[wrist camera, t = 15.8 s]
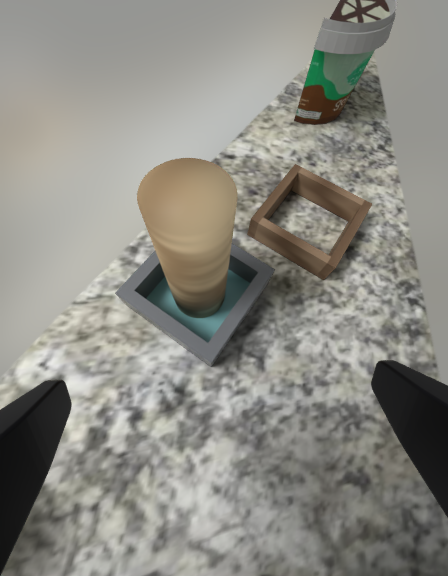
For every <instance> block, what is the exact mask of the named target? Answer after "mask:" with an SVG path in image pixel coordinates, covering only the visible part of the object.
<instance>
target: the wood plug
mask: <svg viewBox="0 0 448 576" xmlns="http://www.w3.org/2000/svg"><path fill="white" fill-rule="evenodd" d="M137 201H138V205H139V209H140V211H141V214H142V216H143V219H144V222H145V224H146V227H147V230H148V232H149V235H150V237H151V240H152V243H153V245H154V248H155V251H156V253H157V256H158V258H159V261H160V264H161V266H162V269H163V272H164V274H165V277H166V280H167V282H168V285H169V287H170V290H171V293H172V295H173V298H174V301H175V303H176V305H177V307H178V308H179V310H180V311H181V312H183V313H184V314H185V315H187V316H190V317H193V318H205V317H208V316H211V315H213V314H214V313H216V312H217V311H218V310H219V309H220V307H221V306H222V304H223V302H224V298H225V291H226V283H227V275H228V267H229V260H230V252H231V244H232V236H233V228H234V220H235V213H236V205H237V189H236V186H235V183H234V181H233V179H232V178H231V177H230V175H229V174H228V173H227V172H226V171H225V170H223V169H222V168H221V167H219V166H218V165H216V164H214V163H211V162H209V161H206V160H201V159H195V158H181V159H175V160H170V161H167V162H165V163H163V164H160V165H158V166H157V167H155V168H154V169H152V170H151V171H150V172H149V173H148V174H147V175H146V176H145V177H144V178H143V180H142V181H141V183H140V186H139V189H138V193H137Z"/></svg>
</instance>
